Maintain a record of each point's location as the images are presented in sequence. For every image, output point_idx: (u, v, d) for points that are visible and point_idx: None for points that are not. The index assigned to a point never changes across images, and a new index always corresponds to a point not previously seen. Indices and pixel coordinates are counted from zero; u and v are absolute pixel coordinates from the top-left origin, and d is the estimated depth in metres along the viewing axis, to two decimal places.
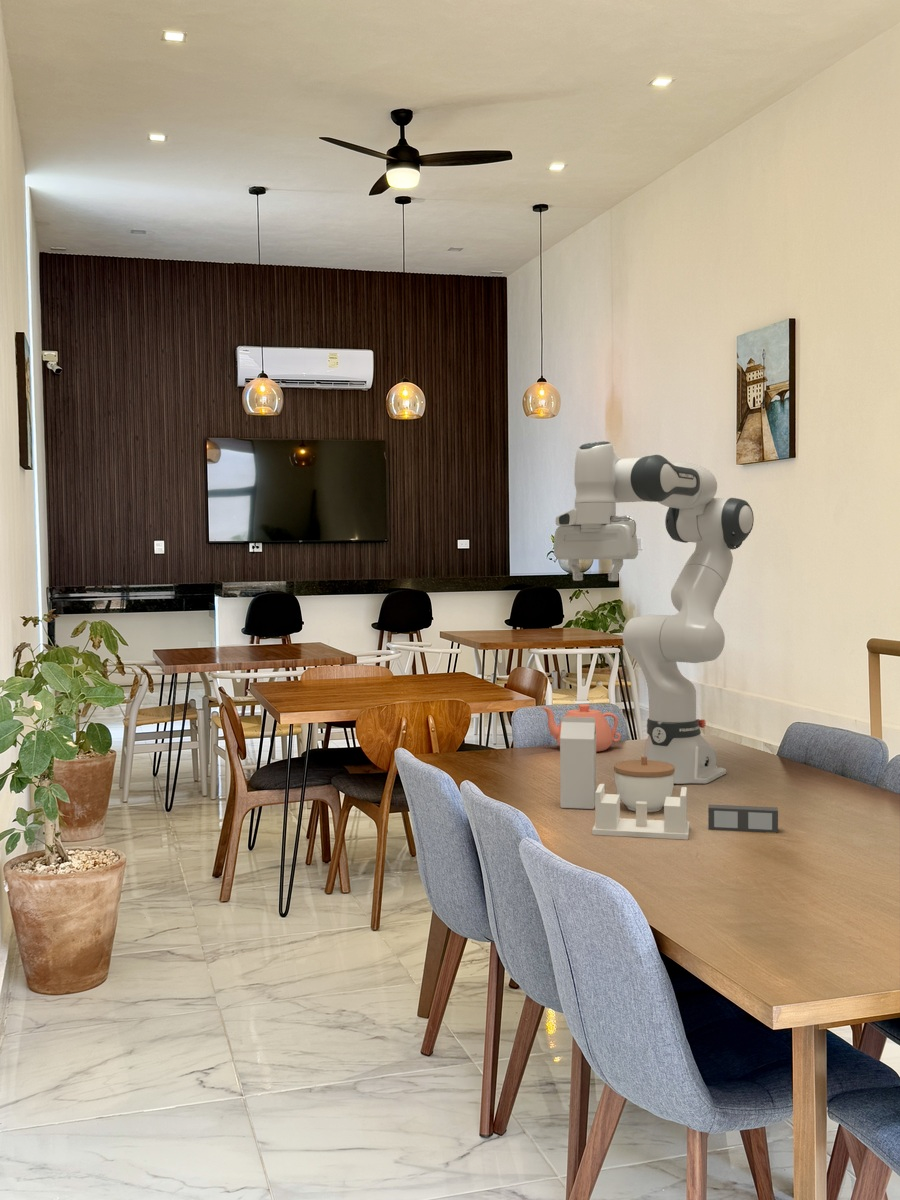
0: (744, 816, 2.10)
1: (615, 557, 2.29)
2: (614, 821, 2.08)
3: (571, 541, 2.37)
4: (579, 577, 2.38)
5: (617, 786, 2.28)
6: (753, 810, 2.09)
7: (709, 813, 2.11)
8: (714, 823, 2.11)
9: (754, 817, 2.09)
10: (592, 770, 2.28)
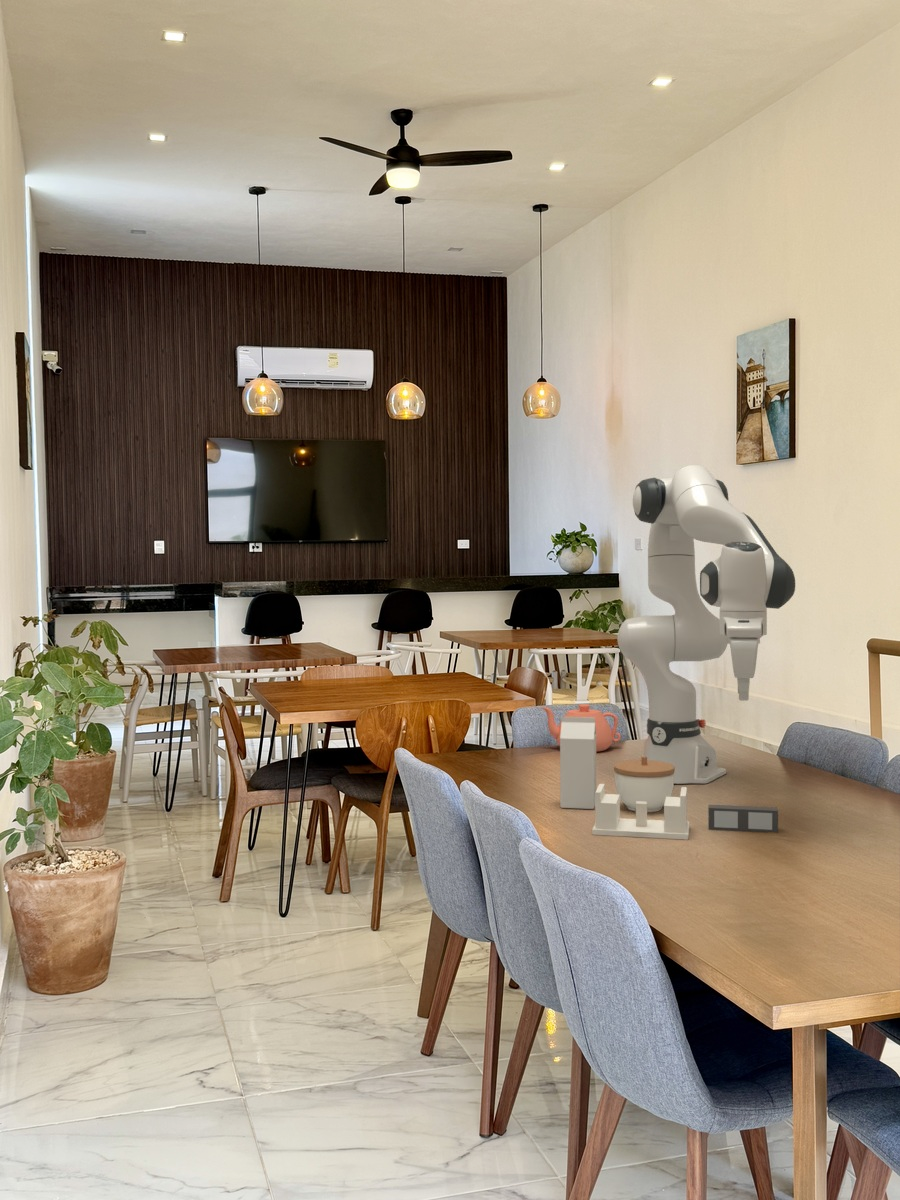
0: (744, 816, 2.10)
1: None
2: (614, 821, 2.08)
3: None
4: None
5: (617, 786, 2.28)
6: (753, 810, 2.09)
7: (709, 813, 2.11)
8: (714, 823, 2.11)
9: (754, 817, 2.09)
10: (592, 770, 2.28)
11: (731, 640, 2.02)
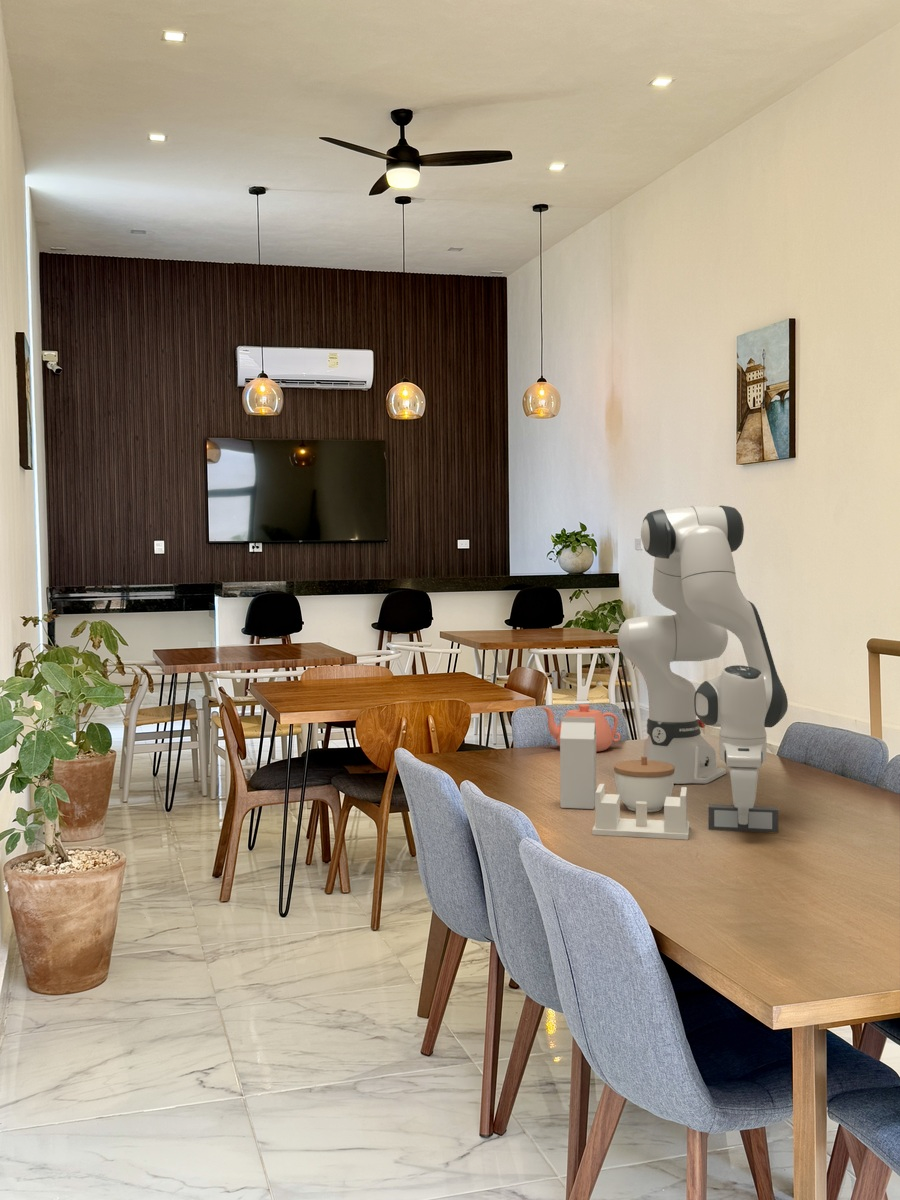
0: None
1: None
2: (614, 821, 2.08)
3: None
4: None
5: (617, 786, 2.28)
6: (753, 809, 2.09)
7: (709, 812, 2.11)
8: (714, 822, 2.11)
9: (754, 816, 2.09)
10: (592, 770, 2.28)
11: (731, 769, 2.03)
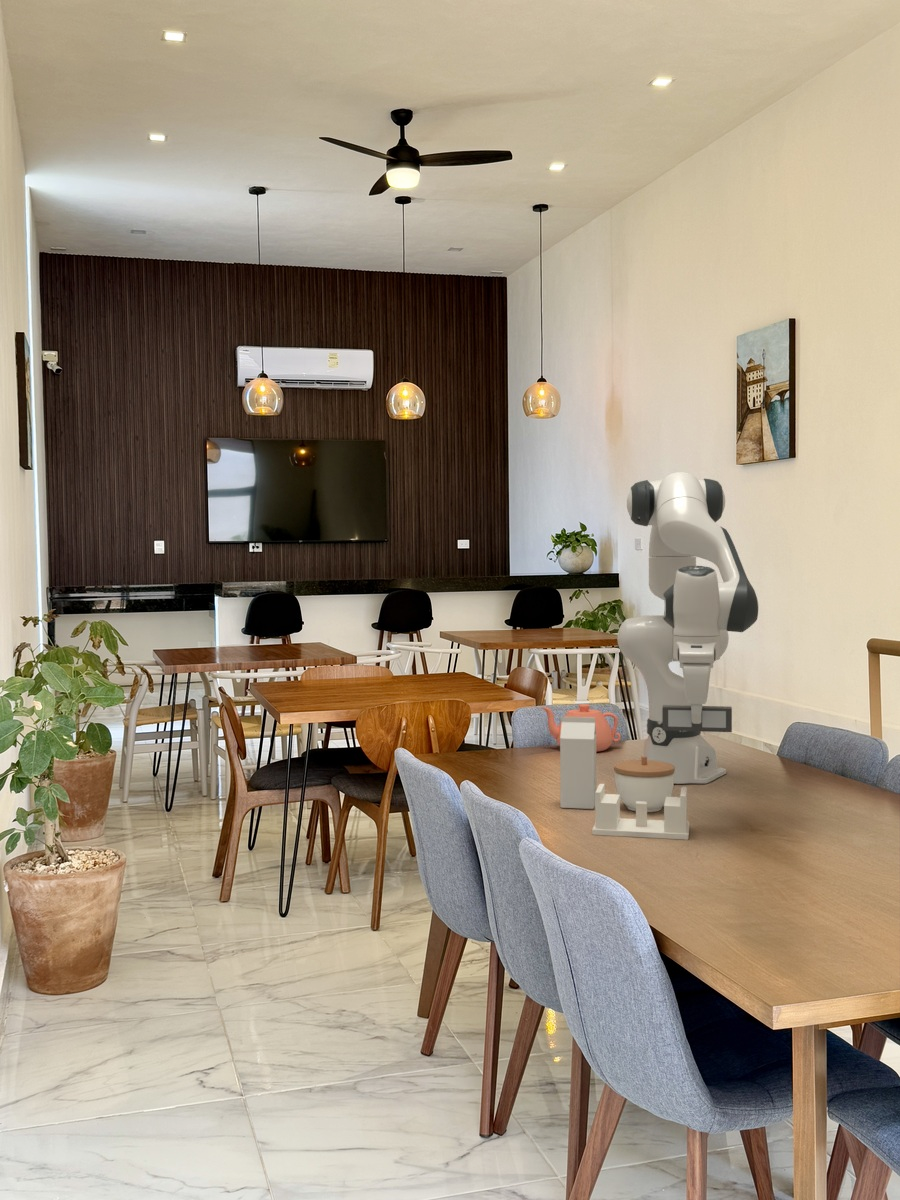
0: None
1: None
2: (614, 821, 2.08)
3: None
4: None
5: (617, 786, 2.28)
6: (707, 708, 2.08)
7: (663, 712, 2.10)
8: (668, 722, 2.10)
9: (708, 715, 2.08)
10: (592, 770, 2.28)
11: (684, 666, 2.02)
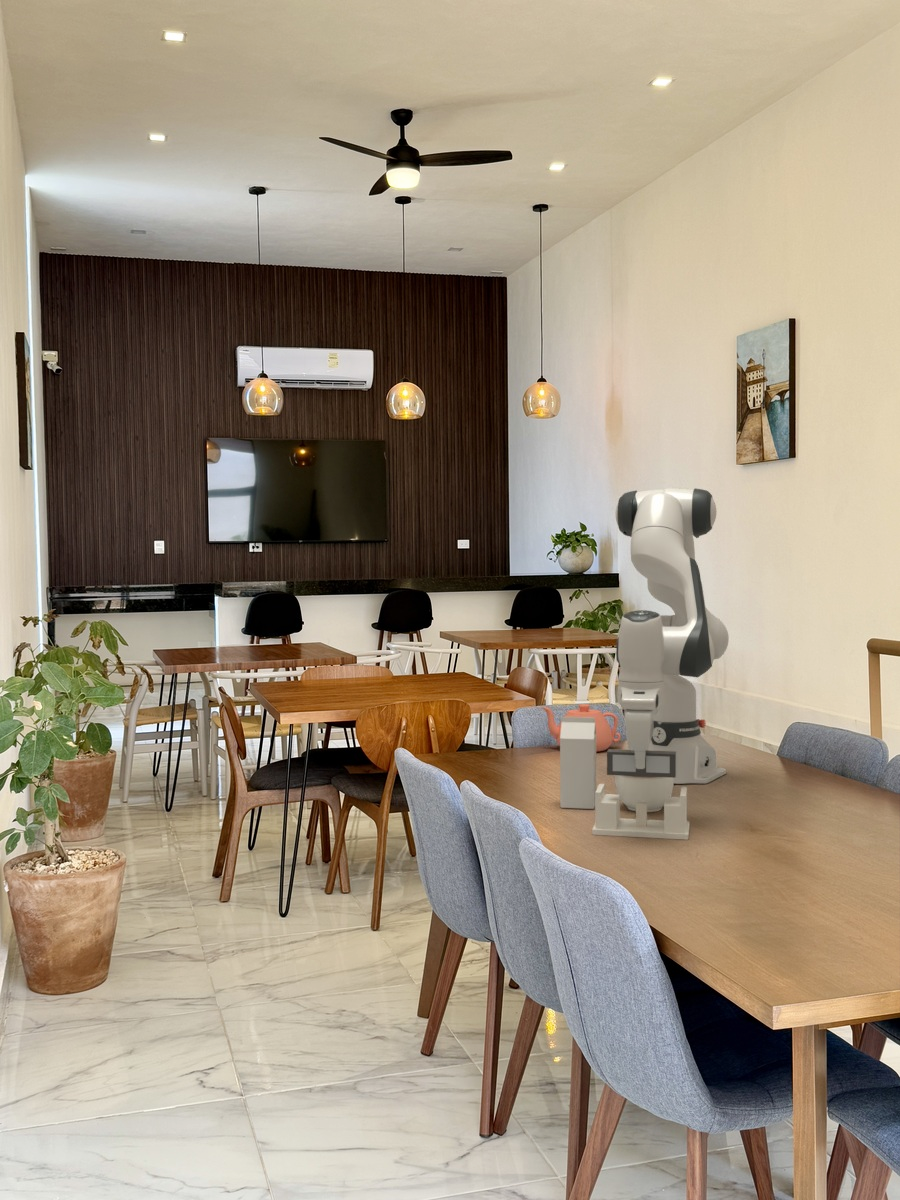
0: None
1: (652, 735, 2.16)
2: (614, 821, 2.08)
3: None
4: None
5: (617, 786, 2.28)
6: (651, 754, 2.08)
7: (608, 757, 2.10)
8: (613, 767, 2.10)
9: (652, 761, 2.08)
10: (592, 770, 2.28)
11: (625, 712, 2.02)
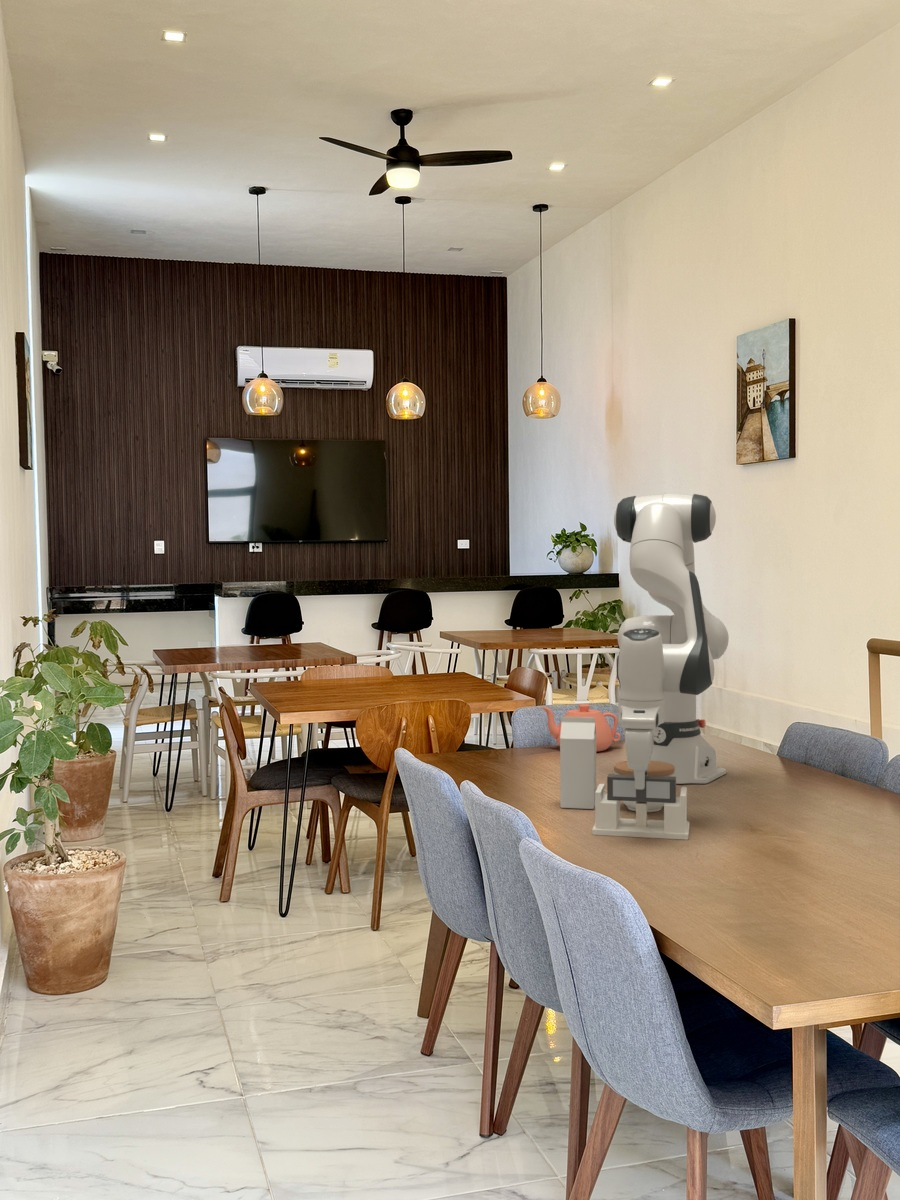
0: None
1: (652, 752, 2.16)
2: (614, 821, 2.08)
3: None
4: None
5: None
6: (651, 779, 2.09)
7: (608, 782, 2.11)
8: (613, 792, 2.10)
9: (652, 786, 2.09)
10: (592, 770, 2.28)
11: (625, 731, 2.02)
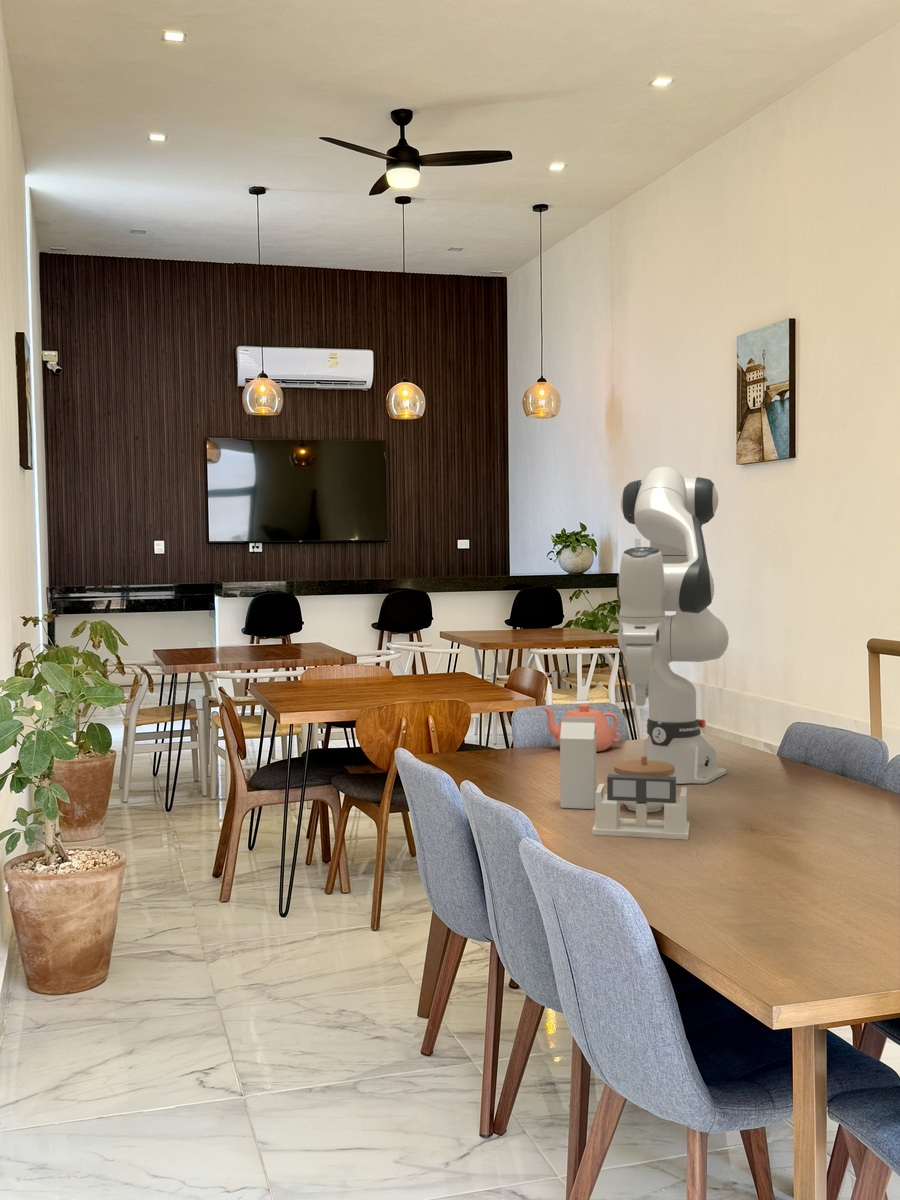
0: (642, 785, 2.09)
1: (653, 671, 2.18)
2: (614, 821, 2.08)
3: None
4: None
5: None
6: (651, 779, 2.09)
7: (608, 782, 2.11)
8: (613, 792, 2.10)
9: (652, 786, 2.09)
10: (592, 770, 2.28)
11: (626, 646, 2.04)
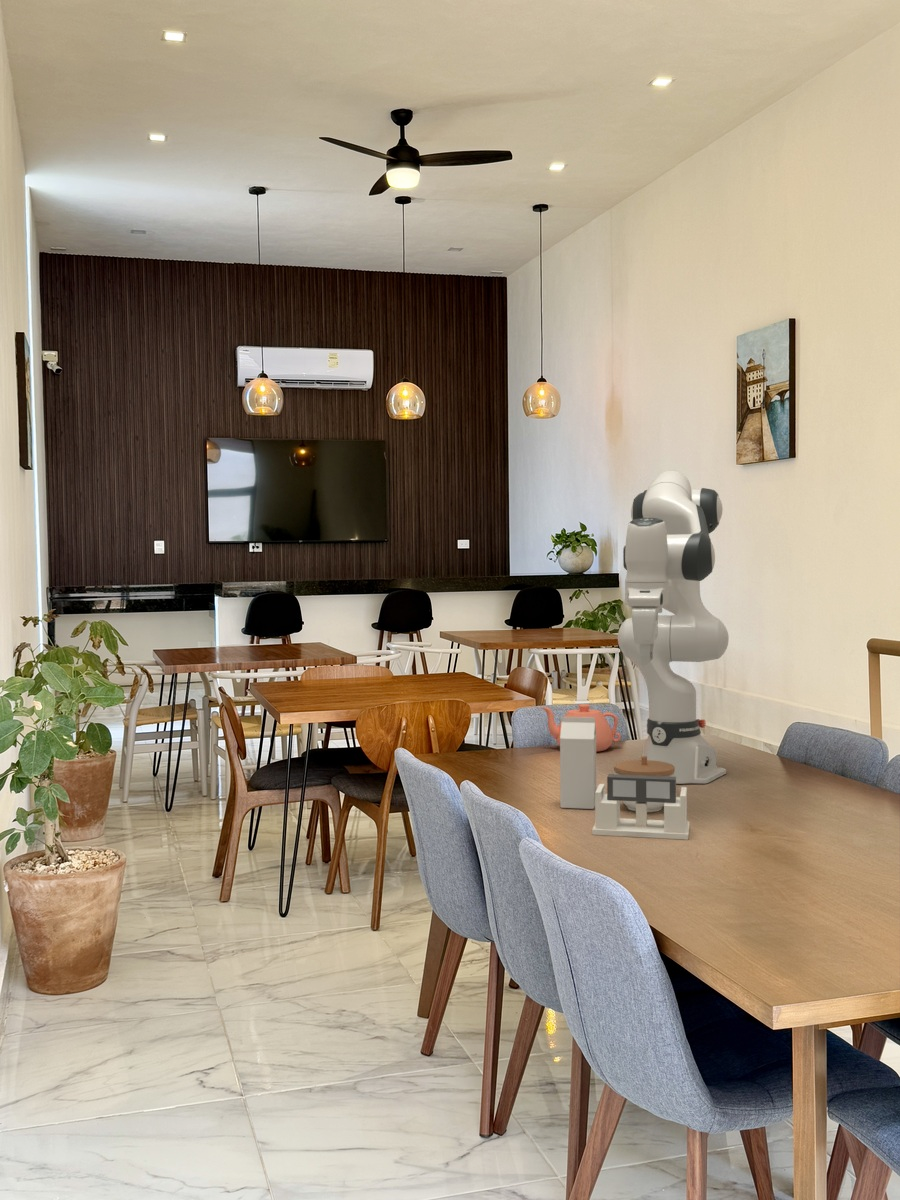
0: (642, 785, 2.09)
1: None
2: (614, 821, 2.08)
3: None
4: None
5: None
6: (651, 779, 2.09)
7: (608, 782, 2.11)
8: (613, 792, 2.10)
9: (652, 786, 2.09)
10: (592, 770, 2.28)
11: (632, 609, 2.17)
